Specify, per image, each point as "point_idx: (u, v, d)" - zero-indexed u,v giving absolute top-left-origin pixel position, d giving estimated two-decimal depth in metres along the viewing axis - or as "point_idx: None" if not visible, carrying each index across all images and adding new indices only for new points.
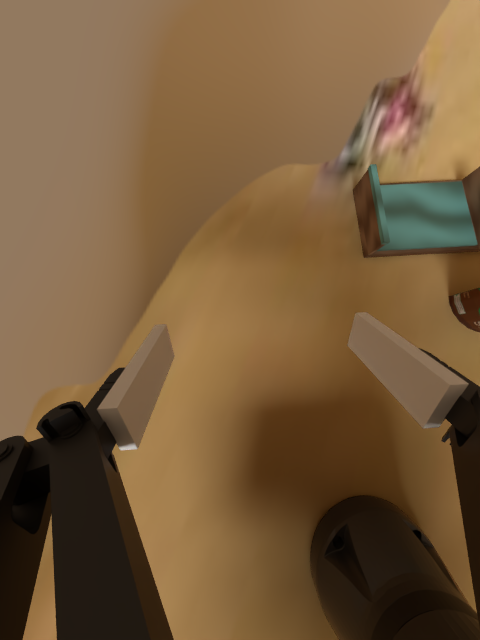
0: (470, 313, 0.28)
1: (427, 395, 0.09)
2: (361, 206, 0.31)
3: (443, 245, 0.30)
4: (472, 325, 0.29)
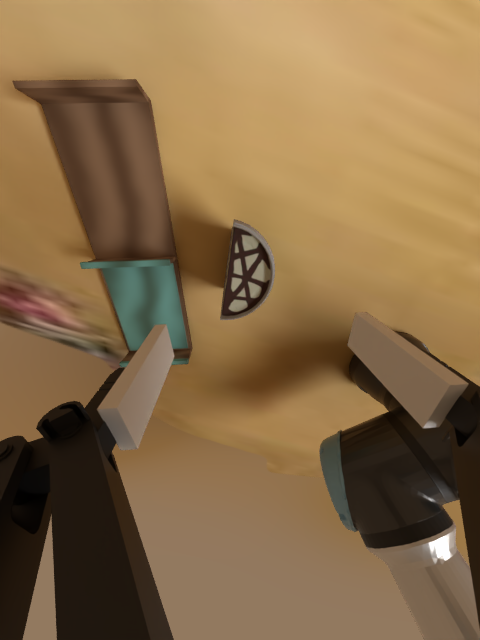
0: None
1: (427, 395, 0.09)
2: None
3: (177, 296, 0.33)
4: None
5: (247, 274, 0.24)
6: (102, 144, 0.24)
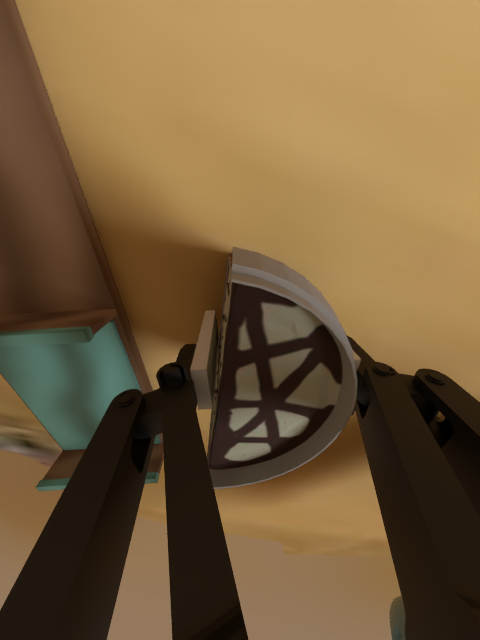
0: None
1: None
2: None
3: (130, 374, 0.18)
4: None
5: (273, 396, 0.08)
6: None
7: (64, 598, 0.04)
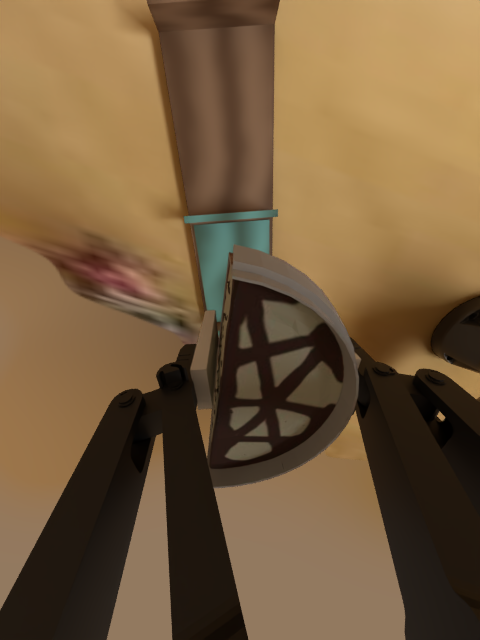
0: None
1: None
2: None
3: None
4: None
5: (274, 395, 0.08)
6: (216, 79, 0.22)
7: (64, 597, 0.04)
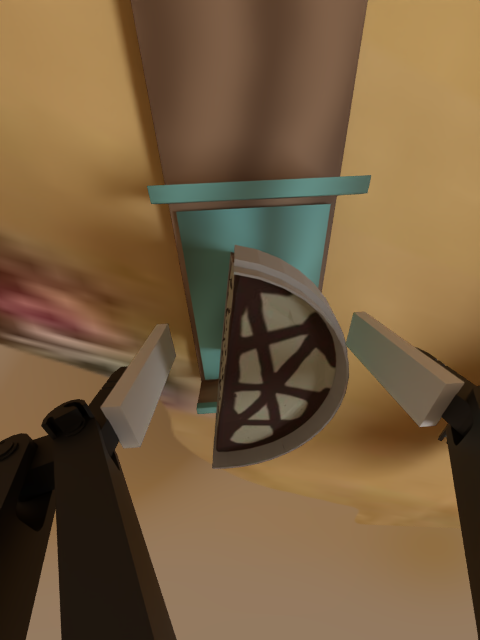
0: None
1: (423, 394, 0.09)
2: None
3: (317, 277, 0.16)
4: None
5: (273, 380, 0.09)
6: None
7: None
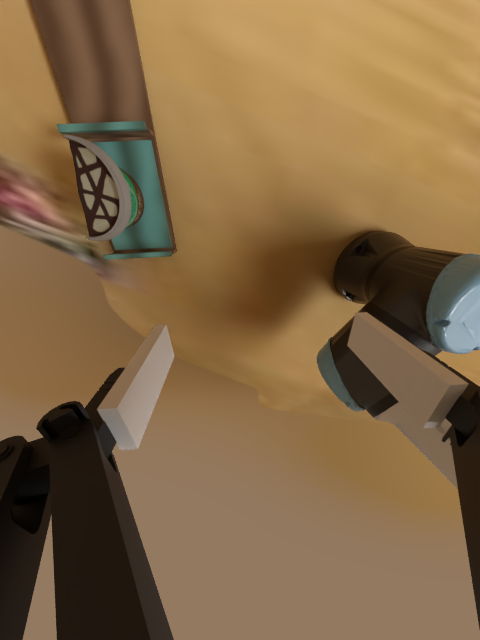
0: (130, 225, 0.34)
1: (427, 395, 0.09)
2: None
3: (157, 181, 0.33)
4: (139, 216, 0.35)
5: (97, 190, 0.26)
6: None
7: None
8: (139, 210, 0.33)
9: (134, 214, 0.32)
